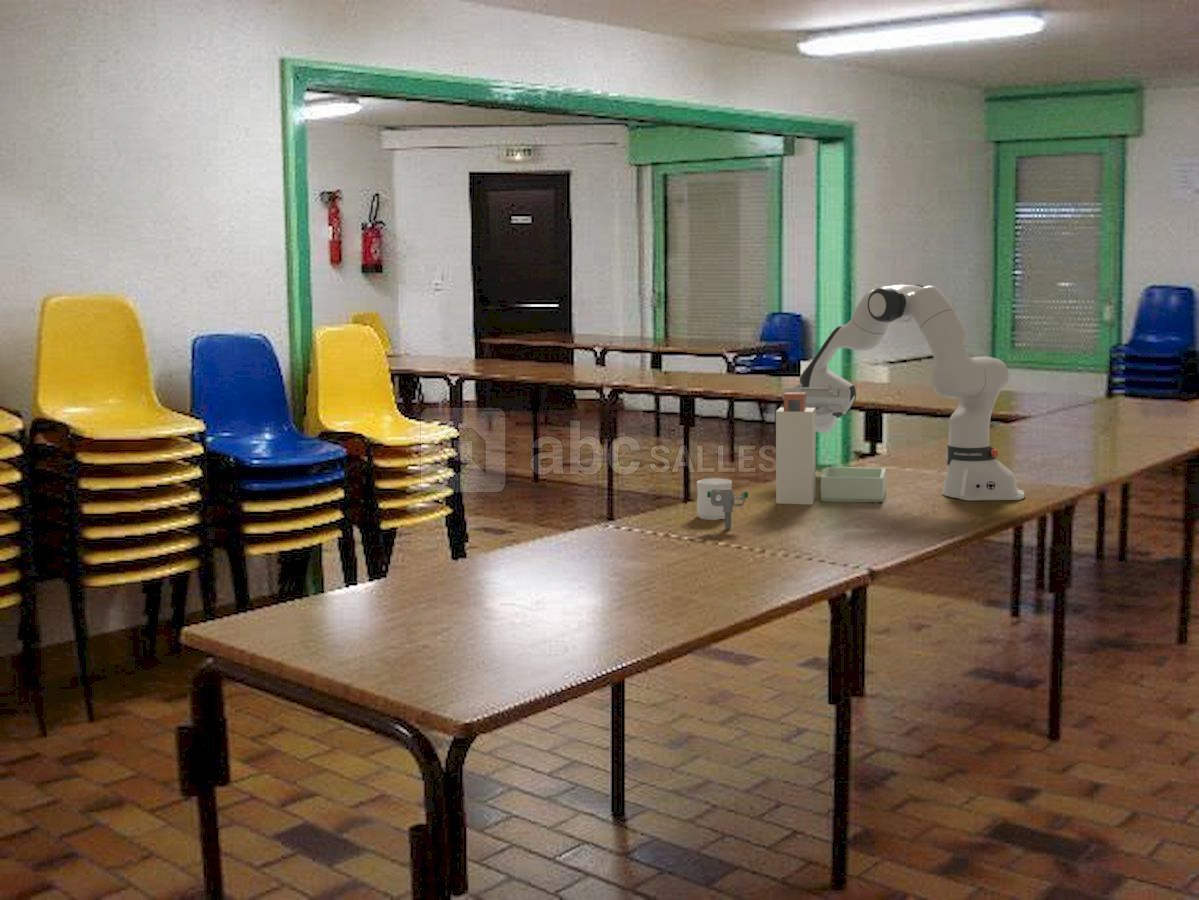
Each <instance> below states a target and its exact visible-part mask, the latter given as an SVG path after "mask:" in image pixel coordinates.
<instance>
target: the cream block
mask: <svg viewBox="0 0 1199 900" xmlns="http://www.w3.org/2000/svg"><path fill="white" fill-rule="evenodd" d="M775 460H776V461H775V494H776V495H775V503H776V504H779V505H781V504H782V505H784V504H785V505H813V504H814V501H815V500H816V431H815V408H806V410H805V411H804V412H784V406H783V407H782V406H780V407H779V408H778V409H776V411H775Z"/></svg>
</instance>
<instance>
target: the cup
mask: <svg viewBox="0 0 1199 900" xmlns="http://www.w3.org/2000/svg"><path fill="white" fill-rule="evenodd" d="M732 484H733V481H732V479H728V478H722V477H721V478H720V477H709V478H703V479H699V480H697V481H696V490H697V496H696V497H697V500H696V501H697V502H696V513H697V516H698V518H700V519H701V520H708V521H720V520H719V519H722V520H725V512H723V506H713V505H712V504H711V498H710V497H707V492H708V491H711V490H732V486H733V485H732ZM716 498H717V499H721V496H720V495H717V496H716ZM732 515H733V512H731V516H732Z"/></svg>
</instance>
